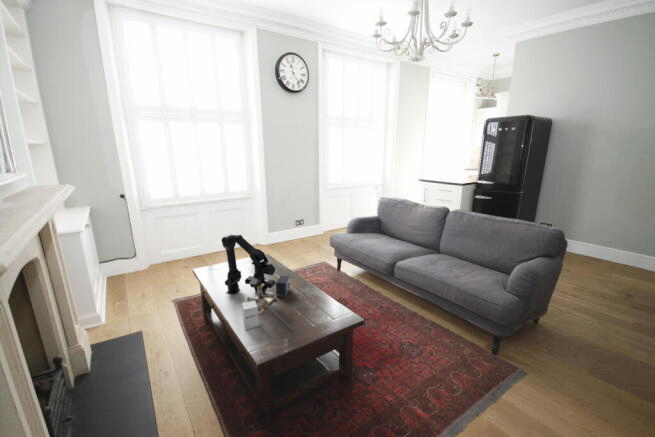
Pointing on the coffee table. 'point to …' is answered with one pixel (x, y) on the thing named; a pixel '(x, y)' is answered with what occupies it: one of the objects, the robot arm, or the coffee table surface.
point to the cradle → (264, 301)
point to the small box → (282, 286)
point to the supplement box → (250, 315)
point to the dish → (260, 310)
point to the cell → (260, 292)
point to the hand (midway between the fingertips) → (260, 294)
